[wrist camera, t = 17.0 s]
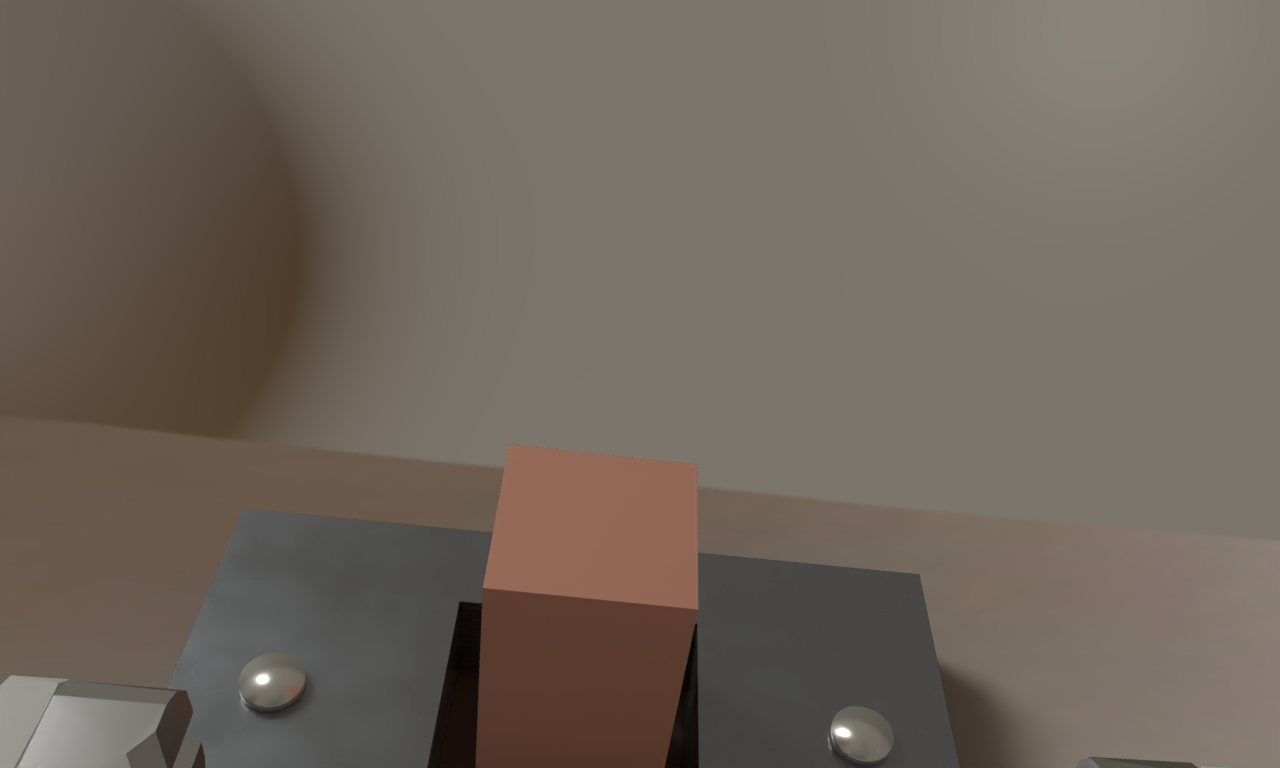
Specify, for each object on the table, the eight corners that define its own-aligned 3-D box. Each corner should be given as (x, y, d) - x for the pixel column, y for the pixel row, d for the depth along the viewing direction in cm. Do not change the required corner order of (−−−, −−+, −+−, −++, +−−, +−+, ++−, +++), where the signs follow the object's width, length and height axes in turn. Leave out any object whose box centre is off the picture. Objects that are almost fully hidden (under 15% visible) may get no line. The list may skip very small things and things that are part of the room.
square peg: (648, 721, 34) (697, 463, 28) (643, 866, 30) (698, 609, 24) (494, 706, 34) (508, 444, 27) (472, 850, 30) (482, 587, 24)
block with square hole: (894, 639, 37) (921, 567, 35) (966, 1043, 28) (1008, 978, 26) (252, 577, 36) (241, 500, 34) (101, 974, 27) (73, 900, 25)
